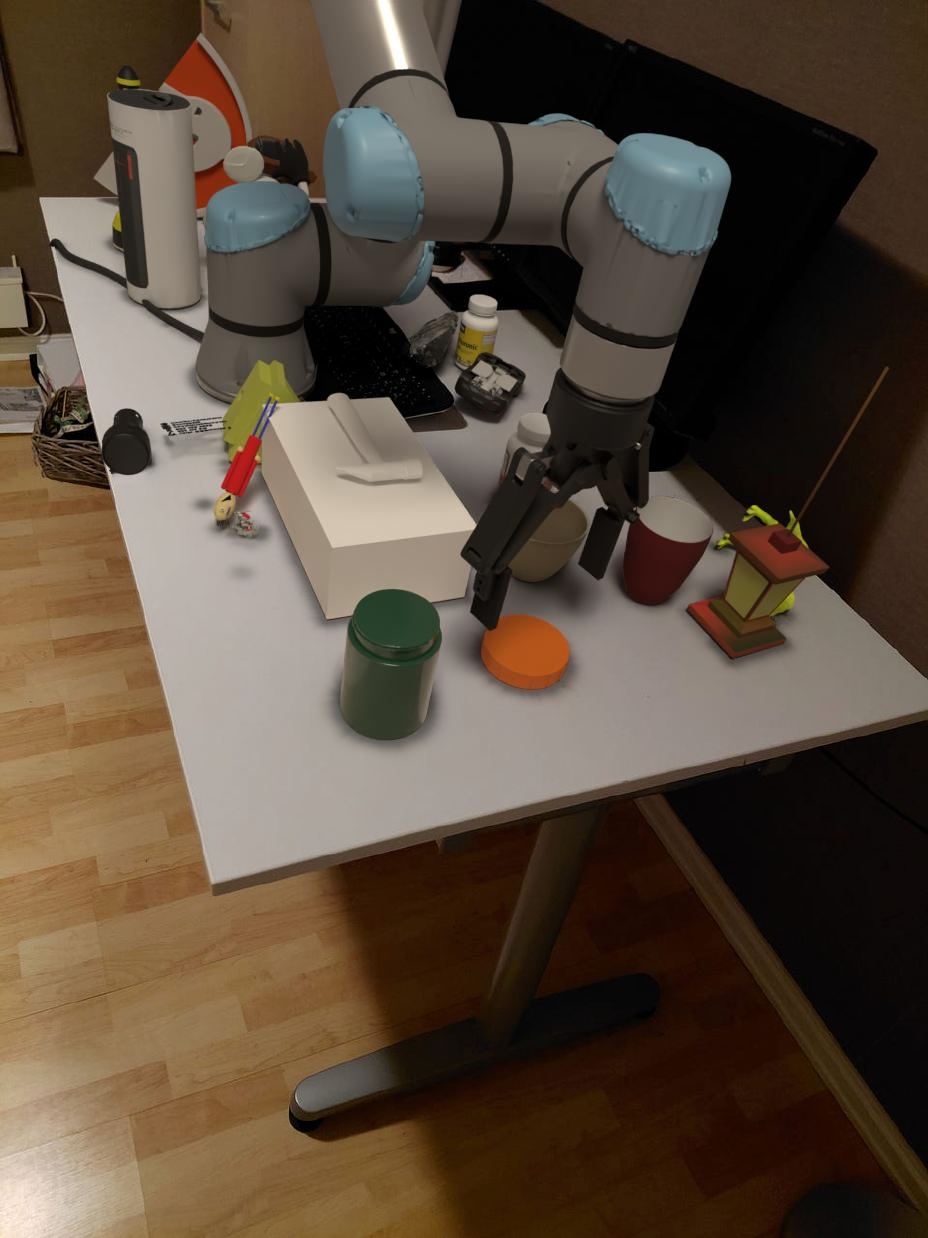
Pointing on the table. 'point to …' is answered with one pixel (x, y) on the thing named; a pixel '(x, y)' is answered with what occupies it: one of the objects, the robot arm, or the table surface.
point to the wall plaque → (203, 119)
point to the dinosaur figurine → (768, 521)
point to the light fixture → (762, 580)
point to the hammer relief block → (363, 502)
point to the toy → (250, 164)
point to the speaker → (156, 195)
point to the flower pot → (551, 543)
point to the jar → (389, 663)
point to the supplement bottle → (476, 330)
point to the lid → (525, 652)
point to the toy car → (490, 383)
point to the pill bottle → (527, 440)
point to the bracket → (255, 404)
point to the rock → (434, 339)
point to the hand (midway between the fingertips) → (539, 594)
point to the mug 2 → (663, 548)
